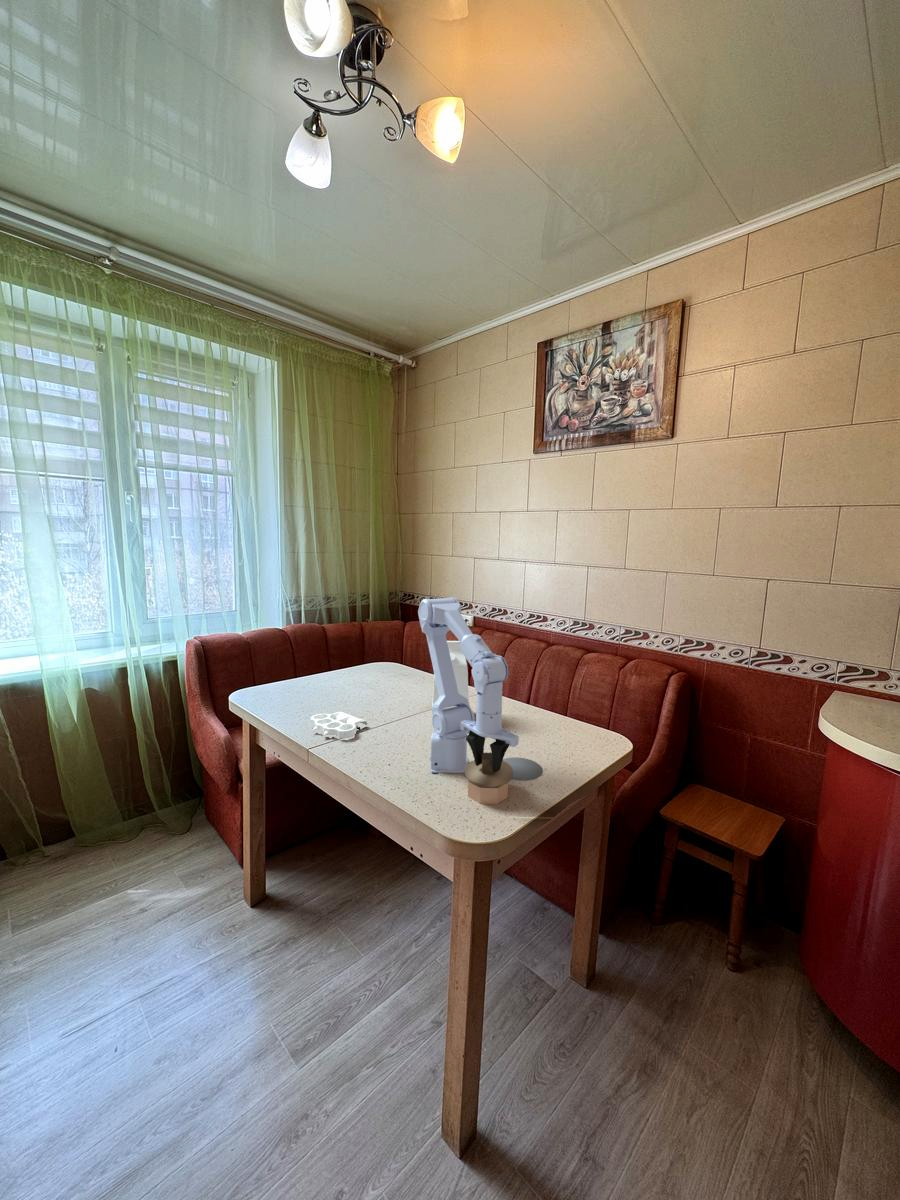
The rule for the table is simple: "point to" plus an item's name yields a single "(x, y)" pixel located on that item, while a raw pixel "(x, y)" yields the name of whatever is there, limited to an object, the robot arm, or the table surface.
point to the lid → (488, 772)
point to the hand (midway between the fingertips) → (487, 767)
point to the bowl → (487, 793)
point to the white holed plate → (337, 724)
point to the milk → (456, 671)
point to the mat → (524, 769)
